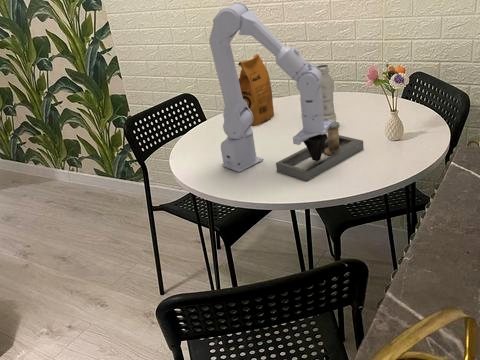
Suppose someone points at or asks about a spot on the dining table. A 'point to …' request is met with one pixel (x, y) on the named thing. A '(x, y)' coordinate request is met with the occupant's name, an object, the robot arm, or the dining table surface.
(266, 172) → the dining table surface
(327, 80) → the plastic bottle
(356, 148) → the keyhole plate
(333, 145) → the peg
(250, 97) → the coffee package
